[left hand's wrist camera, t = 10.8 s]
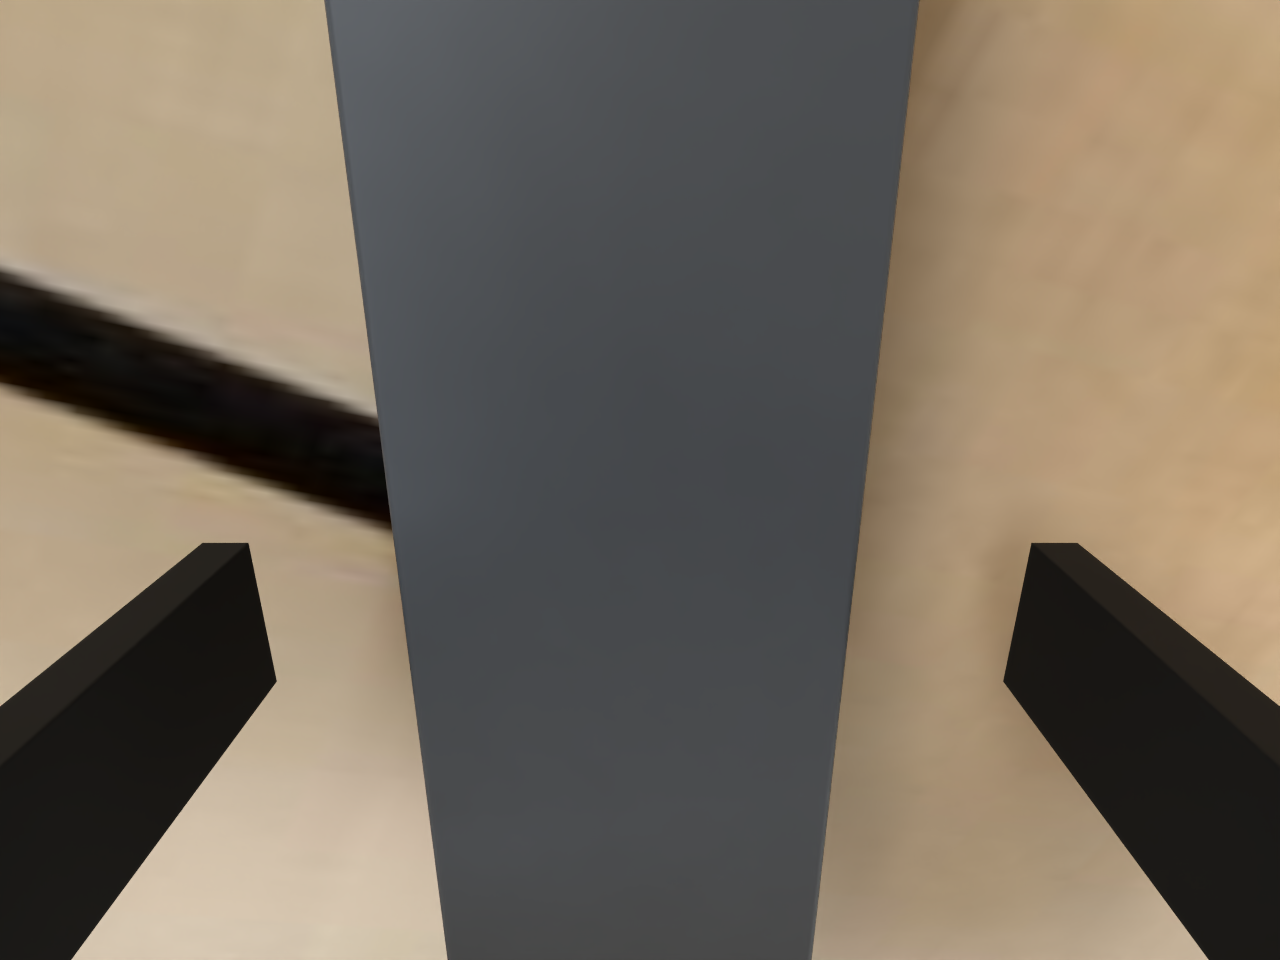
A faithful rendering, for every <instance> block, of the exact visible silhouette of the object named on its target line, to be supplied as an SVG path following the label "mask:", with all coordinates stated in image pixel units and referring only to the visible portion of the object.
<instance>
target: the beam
mask: <svg viewBox="0 0 1280 960" xmlns="http://www.w3.org/2000/svg"><path fill="white" fill-rule="evenodd" d="M324 1H325V9H326V17H327V25H328V32H329V40H330V48H331V56H332V64H333V71H334V79H335V87H336V95H337V102H338V110H339V118H340V126H341V134H342V141H343V149H344V157H345V165H346V172H347V180H348V188H349V196H350V204H351V211H352V219H353V227H354V235H355V242H356V250H357V258H358V266H359V274H360V281H361V289H362V297H363V305H364V312H365V320H366V328H367V336H368V344H369V351H370V359H371V367H372V375H373V382H374V390H375V398H376V406H377V414H378V421H379V429H380V437H381V445H382V452H383V460H384V468H385V476H386V484H387V491H388V499H389V507H390V515H391V522H392V530H393V538H394V546H395V554H396V561H397V569H398V577H399V585H400V592H401V600H402V608H403V616H404V624H405V631H406V639H407V647H408V655H409V662H410V670H411V678H412V686H413V694H414V701H415V709H416V717H417V725H418V732H419V740H420V748H421V756H422V764H423V771H424V779H425V787H426V795H427V802H428V810H429V818H430V826H431V834H432V841H433V849H434V857H435V865H436V872H437V880H438V888H439V896H440V904H441V911H442V919H443V927H444V935H445V942H446V950H447V958H448V960H812V951H813V942H814V933H815V924H816V915H817V906H818V897H819V888H820V879H821V871H822V862H823V853H824V844H825V835H826V826H827V817H828V808H829V799H830V791H831V782H832V773H833V764H834V755H835V746H836V737H837V728H838V719H839V710H840V702H841V693H842V684H843V675H844V666H845V657H846V648H847V639H848V630H849V622H850V613H851V604H852V595H853V586H854V577H855V568H856V559H857V550H858V541H859V533H860V524H861V515H862V506H863V497H864V488H865V479H866V470H867V461H868V453H869V444H870V435H871V426H872V417H873V408H874V399H875V390H876V381H877V372H878V364H879V355H880V346H881V337H882V328H883V319H884V310H885V301H886V292H887V284H888V275H889V266H890V257H891V248H892V239H893V230H894V221H895V212H896V203H897V195H898V186H899V177H900V168H901V159H902V150H903V141H904V132H905V123H906V115H907V106H908V97H909V88H910V79H911V70H912V61H913V52H914V43H915V34H916V26H917V17H918V8H919V0H324Z"/></svg>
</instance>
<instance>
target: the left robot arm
mask: <svg viewBox="0 0 1280 960" xmlns="http://www.w3.org/2000/svg"><path fill="white" fill-rule="evenodd" d="M276 682H277V680H276V676H275V671H274V666H273V661H272V656H271V651H270V646H269V641H268V636H267V632H266V627H265V622H264V617H263V612H262V607H261V602H260V597H259V592H258V588H257V583H256V578H255V573H254V568H253V563H252V558H251V553H250V548H249V544H248V543H202V544H201V545H200V546H198V547H197V548H196V549H195V550H193V551H192V552H191V553H190V554H188V555H187V556H186V557H185V558H183V559H182V560H181V561H180V562H178V563H177V564H176V565H175V566H174V567H172V568H171V569H170V570H169V571H167V572H166V573H165V574H164V575H162V576H161V577H160V578H159V579H157V580H156V581H155V582H154V583H152V584H151V585H150V586H149V587H148V588H146V589H145V590H144V591H143V592H141V593H140V594H139V595H138V596H136V597H135V598H134V599H133V600H131V601H130V602H129V603H128V604H126V605H125V606H124V607H123V608H122V609H120V610H119V611H118V612H117V613H115V614H114V615H113V616H112V617H110V618H109V619H108V620H107V621H105V622H104V623H103V624H102V625H101V626H99V627H98V628H97V629H96V630H94V631H93V632H92V633H91V634H89V635H88V636H87V637H86V638H84V639H83V640H82V641H81V642H79V643H78V644H77V645H76V646H75V647H73V648H72V649H71V650H70V651H68V652H67V653H66V654H65V655H63V656H62V657H61V658H60V659H58V660H57V661H56V662H55V663H53V664H52V665H51V666H50V667H49V668H47V669H46V670H45V671H44V672H42V673H41V674H40V675H39V676H37V677H36V678H35V679H34V680H32V681H31V682H30V683H29V684H27V685H26V686H25V687H24V688H23V689H21V690H20V691H19V692H18V693H16V694H15V695H14V696H13V697H11V698H10V699H9V700H8V701H6V702H5V703H4V704H3V705H1V706H0V960H71V959H72V958H73V957H74V955H75V954H76V952H77V951H78V950H79V948H80V947H81V946H82V944H83V943H84V942H85V940H86V939H87V938H88V936H89V935H90V934H91V932H92V931H93V929H94V928H95V927H96V925H97V924H98V923H99V921H100V920H101V919H102V917H103V916H104V915H105V913H106V912H107V910H108V909H109V908H110V906H111V905H112V904H113V902H114V901H115V900H116V898H117V897H118V896H119V894H120V893H121V892H122V890H123V889H124V887H125V886H126V885H127V883H128V882H129V881H130V879H131V878H132V877H133V875H134V874H135V873H136V871H137V870H138V869H139V867H140V866H141V864H142V863H143V862H144V860H145V859H146V858H147V856H148V855H149V854H150V852H151V851H152V850H153V848H154V847H155V846H156V844H157V843H158V841H159V840H160V839H161V837H162V836H163V835H164V833H165V832H166V831H167V829H168V828H169V827H170V825H171V824H172V823H173V821H174V820H175V818H176V817H177V816H178V814H179V813H180V812H181V810H182V809H183V808H184V806H185V805H186V804H187V802H188V801H189V799H190V798H191V797H192V795H193V794H194V793H195V791H196V790H197V789H198V787H199V786H200V785H201V783H202V782H203V781H204V779H205V778H206V776H207V775H208V774H209V772H210V771H211V770H212V768H213V767H214V766H215V764H216V763H217V762H218V760H219V759H220V758H221V756H222V755H223V753H224V752H225V751H226V749H227V748H228V747H229V745H230V744H231V743H232V741H233V740H234V739H235V737H236V736H237V735H238V733H239V732H240V730H241V729H242V728H243V726H244V725H245V724H246V722H247V721H248V720H249V718H250V717H251V716H252V714H253V713H254V711H255V710H256V709H257V707H258V706H259V705H260V703H261V702H262V701H263V699H264V698H265V697H266V695H267V694H268V693H269V691H270V690H271V688H272V687H273V686H274V684H275V683H276ZM1003 682H1004V683H1005V684H1006V686H1007V687H1008V688H1009V690H1010V691H1011V693H1012V694H1013V695H1014V697H1015V698H1016V699H1017V701H1018V702H1019V703H1020V705H1021V706H1022V707H1023V709H1024V710H1025V712H1026V713H1027V714H1028V716H1029V717H1030V718H1031V720H1032V721H1033V722H1034V724H1035V725H1036V726H1037V728H1038V729H1039V730H1040V732H1041V733H1042V735H1043V736H1044V737H1045V739H1046V740H1047V741H1048V743H1049V744H1050V745H1051V747H1052V748H1053V749H1054V751H1055V752H1056V753H1057V755H1058V756H1059V758H1060V759H1061V760H1062V762H1063V763H1064V764H1065V766H1066V767H1067V768H1068V770H1069V771H1070V772H1071V774H1072V775H1073V776H1074V778H1075V779H1076V781H1077V782H1078V783H1079V785H1080V786H1081V787H1082V789H1083V790H1084V791H1085V793H1086V794H1087V795H1088V797H1089V798H1090V799H1091V801H1092V802H1093V804H1094V805H1095V806H1096V808H1097V809H1098V810H1099V812H1100V813H1101V814H1102V816H1103V817H1104V818H1105V820H1106V821H1107V823H1108V824H1109V825H1110V827H1111V828H1112V829H1113V831H1114V832H1115V833H1116V835H1117V836H1118V837H1119V839H1120V840H1121V841H1122V843H1123V844H1124V846H1125V847H1126V848H1127V850H1128V851H1129V852H1130V854H1131V855H1132V856H1133V858H1134V859H1135V860H1136V862H1137V863H1138V864H1139V866H1140V867H1141V869H1142V870H1143V871H1144V873H1145V874H1146V875H1147V877H1148V878H1149V879H1150V881H1151V882H1152V883H1153V885H1154V886H1155V887H1156V889H1157V890H1158V892H1159V893H1160V894H1161V896H1162V897H1163V898H1164V900H1165V901H1166V902H1167V904H1168V905H1169V906H1170V908H1171V909H1172V911H1173V912H1174V913H1175V915H1176V916H1177V917H1178V919H1179V920H1180V921H1181V923H1182V924H1183V925H1184V927H1185V928H1186V929H1187V931H1188V932H1189V934H1190V935H1191V936H1192V938H1193V939H1194V940H1195V942H1196V943H1197V944H1198V946H1199V947H1200V948H1201V950H1202V951H1203V952H1204V954H1205V955H1206V957H1207V958H1208V959H1209V960H1280V706H1279V705H1277V704H1276V703H1275V702H1274V701H1272V700H1271V699H1270V698H1269V697H1267V696H1266V695H1265V694H1264V693H1262V692H1261V691H1260V690H1259V689H1257V688H1256V687H1255V686H1254V685H1253V684H1251V683H1250V682H1249V681H1248V680H1246V679H1245V678H1244V677H1243V676H1241V675H1240V674H1239V673H1238V672H1236V671H1235V670H1234V669H1233V668H1231V667H1230V666H1229V665H1228V664H1227V663H1225V662H1224V661H1223V660H1222V659H1220V658H1219V657H1218V656H1217V655H1215V654H1214V653H1213V652H1212V651H1210V650H1209V649H1208V648H1207V647H1205V646H1204V645H1203V644H1202V643H1201V642H1199V641H1198V640H1197V639H1196V638H1194V637H1193V636H1192V635H1191V634H1189V633H1188V632H1187V631H1186V630H1184V629H1183V628H1182V627H1181V626H1179V625H1178V624H1177V623H1176V622H1175V621H1173V620H1172V619H1171V618H1170V617H1168V616H1167V615H1166V614H1165V613H1163V612H1162V611H1161V610H1160V609H1158V608H1157V607H1156V606H1155V605H1154V604H1152V603H1151V602H1150V601H1149V600H1147V599H1146V598H1145V597H1144V596H1142V595H1141V594H1140V593H1139V592H1137V591H1136V590H1135V589H1134V588H1132V587H1131V586H1130V585H1129V584H1128V583H1126V582H1125V581H1124V580H1123V579H1121V578H1120V577H1119V576H1118V575H1116V574H1115V573H1114V572H1113V571H1111V570H1110V569H1109V568H1108V567H1106V566H1105V565H1104V564H1103V563H1102V562H1100V561H1099V560H1098V559H1097V558H1095V557H1094V556H1093V555H1092V554H1090V553H1089V552H1088V551H1087V550H1085V549H1084V548H1083V547H1082V546H1080V545H1079V544H1078V543H1031V548H1030V553H1029V558H1028V563H1027V568H1026V573H1025V578H1024V583H1023V588H1022V592H1021V597H1020V602H1019V607H1018V612H1017V617H1016V622H1015V627H1014V632H1013V636H1012V641H1011V646H1010V651H1009V656H1008V661H1007V666H1006V671H1005V676H1004V680H1003Z"/></svg>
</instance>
